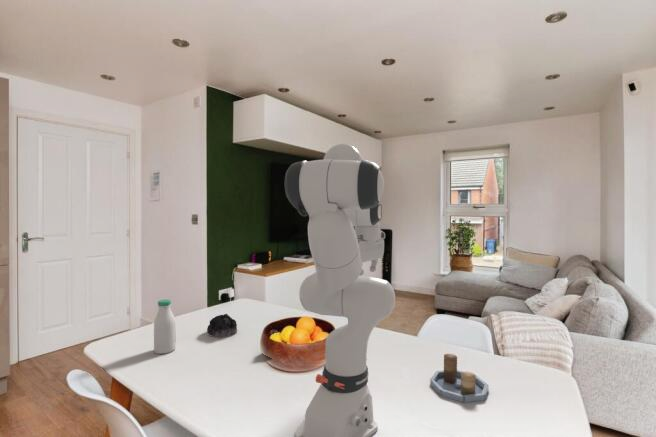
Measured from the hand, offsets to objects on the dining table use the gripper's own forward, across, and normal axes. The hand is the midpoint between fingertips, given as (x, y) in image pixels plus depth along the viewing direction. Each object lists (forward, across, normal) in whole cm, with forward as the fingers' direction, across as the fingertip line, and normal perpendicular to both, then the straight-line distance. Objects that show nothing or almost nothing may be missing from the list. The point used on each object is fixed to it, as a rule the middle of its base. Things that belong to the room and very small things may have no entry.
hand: (366, 273), depth 123 cm
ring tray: (+34, +2, -32) cm, 46 cm away
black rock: (+34, -8, +69) cm, 77 cm away
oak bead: (+33, 0, -35) cm, 48 cm away
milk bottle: (+34, -33, +72) cm, 87 cm away
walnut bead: (+33, +5, -28) cm, 43 cm away
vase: (+34, -10, +35) cm, 50 cm away
